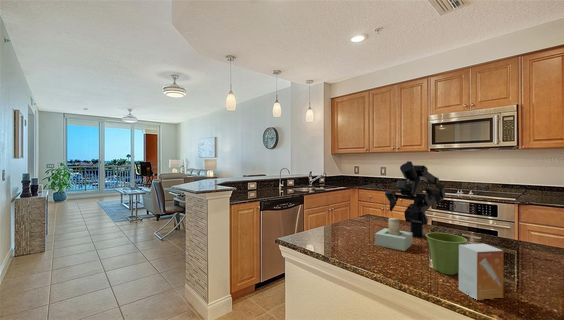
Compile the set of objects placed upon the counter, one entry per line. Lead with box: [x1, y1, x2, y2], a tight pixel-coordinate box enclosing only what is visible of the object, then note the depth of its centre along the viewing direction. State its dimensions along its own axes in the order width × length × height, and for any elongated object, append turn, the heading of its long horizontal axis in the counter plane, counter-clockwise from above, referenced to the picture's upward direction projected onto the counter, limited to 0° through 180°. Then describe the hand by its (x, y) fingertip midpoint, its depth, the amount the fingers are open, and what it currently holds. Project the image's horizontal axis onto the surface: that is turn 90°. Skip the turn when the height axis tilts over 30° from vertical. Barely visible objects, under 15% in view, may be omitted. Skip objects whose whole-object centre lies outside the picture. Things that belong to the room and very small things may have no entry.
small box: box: [458, 243, 505, 301], centre depth 73 cm, size 8×6×13 cm
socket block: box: [374, 227, 414, 252], centre depth 116 cm, size 12×12×5 cm
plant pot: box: [425, 232, 468, 276], centre depth 88 cm, size 12×12×11 cm
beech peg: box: [387, 217, 401, 236], centre depth 116 cm, size 4×4×10 cm
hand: (399, 212), depth 119 cm, fingers open, 9 cm apart
